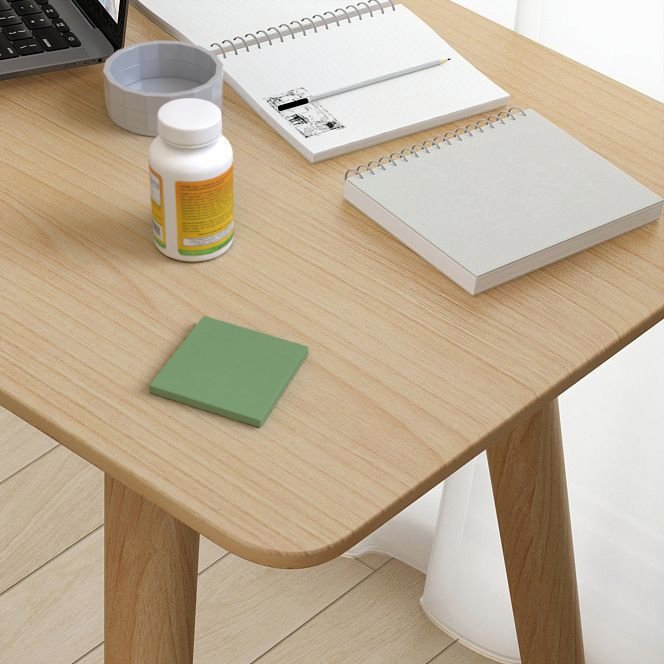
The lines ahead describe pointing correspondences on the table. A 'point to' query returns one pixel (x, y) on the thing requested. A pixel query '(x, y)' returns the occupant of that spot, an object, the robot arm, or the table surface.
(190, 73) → the bowl
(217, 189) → the supplement bottle
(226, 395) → the green flat square slab
